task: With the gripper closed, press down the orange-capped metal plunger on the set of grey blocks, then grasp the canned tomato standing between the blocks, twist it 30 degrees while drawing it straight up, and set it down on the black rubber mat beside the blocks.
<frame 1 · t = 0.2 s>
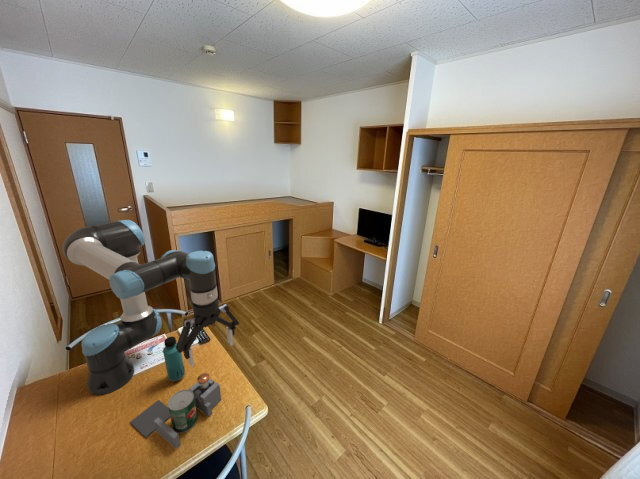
hand: (212, 353, 88), 26 cm above the table, fingers open, 13 cm apart
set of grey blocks: (185, 422, 92), on the table
mat: (152, 418, 93), on the table
beverage bottle: (177, 378, 109), on the table
canned tomato: (185, 422, 92), on the table
plunger: (204, 384, 96), point 9 cm above the table, slide at 0.0 cm
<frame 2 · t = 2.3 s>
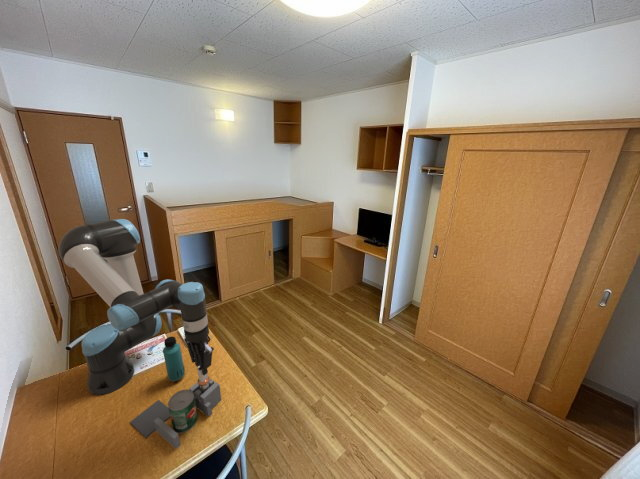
hand: (203, 379, 95), 12 cm above the table, fingers closed
plunger: (204, 386, 97), point 8 cm above the table, slide at 1.0 cm, touching gripper
everything else where it was.
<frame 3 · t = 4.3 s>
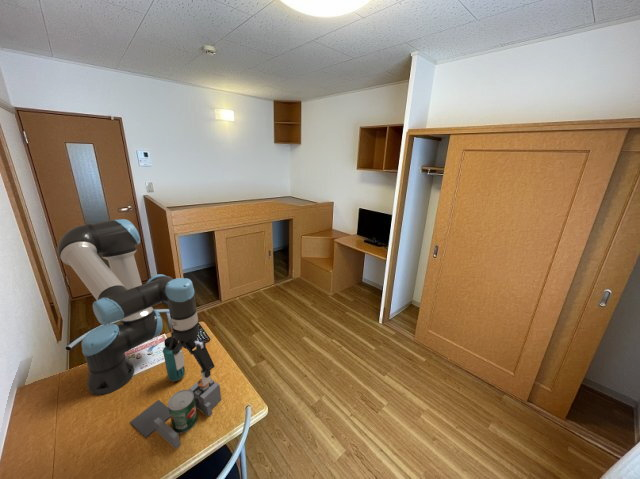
hand: (193, 374, 91), 17 cm above the table, fingers open, 13 cm apart
plunger: (204, 388, 97), point 7 cm above the table, slide at 1.9 cm
everything else where it was.
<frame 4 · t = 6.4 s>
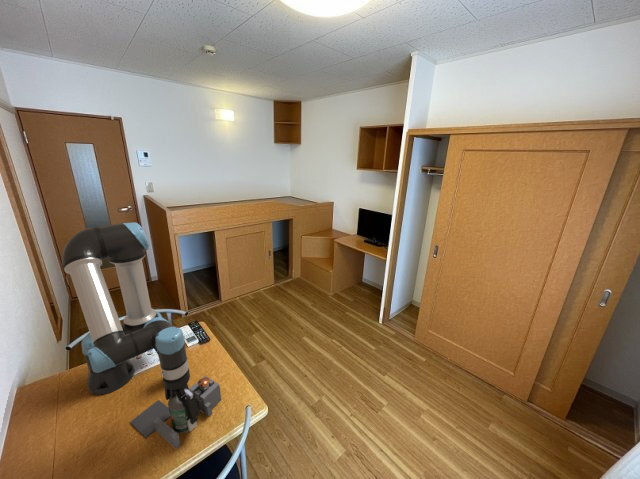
hand: (185, 421, 92), 0 cm above the table, fingers closed on canned tomato, 8 cm apart
canned tomato: (185, 422, 92), on the table, touching gripper
everything else where it was.
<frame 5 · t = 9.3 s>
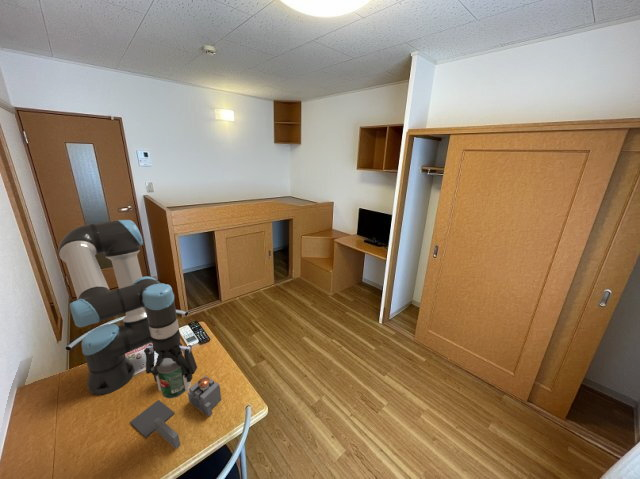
hand: (175, 387, 87), 16 cm above the table, fingers closed on canned tomato, 8 cm apart
canned tomato: (175, 388, 87), point 15 cm above the table, touching gripper
everything else where it was.
when the fingers open (2 cm above the table, at t = 12.5 s): canned tomato drops 1 cm, resting on mat.
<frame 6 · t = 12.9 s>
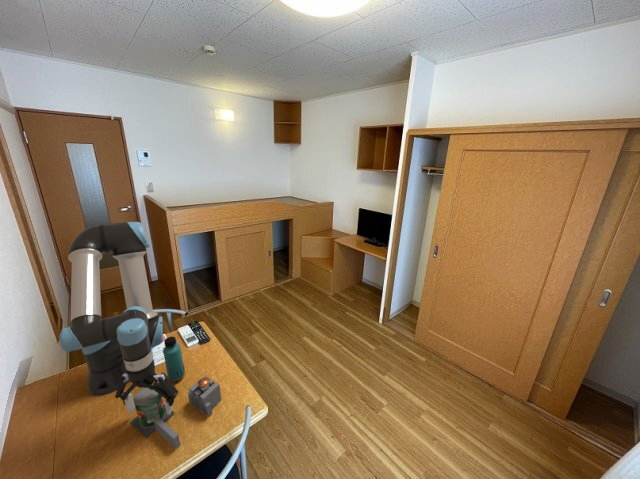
hand: (151, 410, 91), 4 cm above the table, fingers open, 13 cm apart
canned tomato: (152, 417, 92), resting on mat
everything else where it was.
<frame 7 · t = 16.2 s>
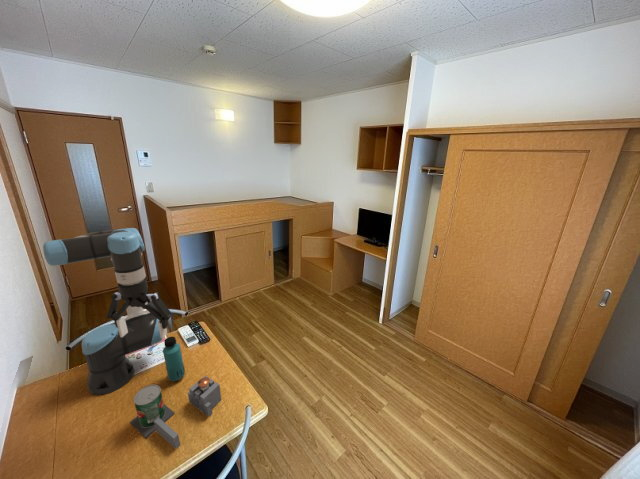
hand: (144, 335, 89), 31 cm above the table, fingers open, 13 cm apart
nothing on the table moved.
at the end: plunger slide at 1.9 cm; canned tomato inside the target area on the mat (0.0 cm from its centre), point 0.4 cm above the mat's base; canned tomato tilted 0° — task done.
